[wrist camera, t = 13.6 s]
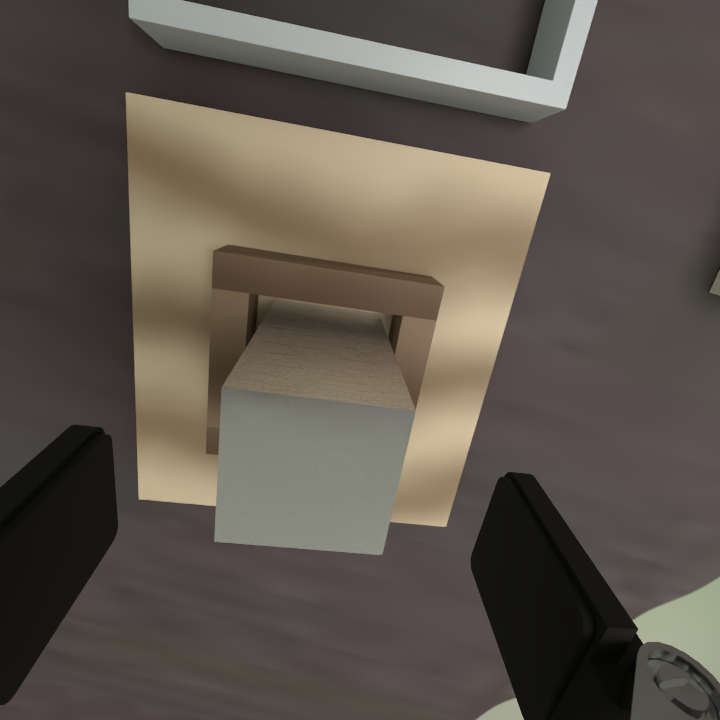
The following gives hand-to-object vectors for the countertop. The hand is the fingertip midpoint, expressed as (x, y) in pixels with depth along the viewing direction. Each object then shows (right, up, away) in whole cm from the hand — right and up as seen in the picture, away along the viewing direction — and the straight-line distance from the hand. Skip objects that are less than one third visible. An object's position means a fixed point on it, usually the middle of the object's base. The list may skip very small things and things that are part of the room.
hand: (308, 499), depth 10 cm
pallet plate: (-1, +4, +12) cm, 13 cm away
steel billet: (-1, +4, +11) cm, 11 cm away
